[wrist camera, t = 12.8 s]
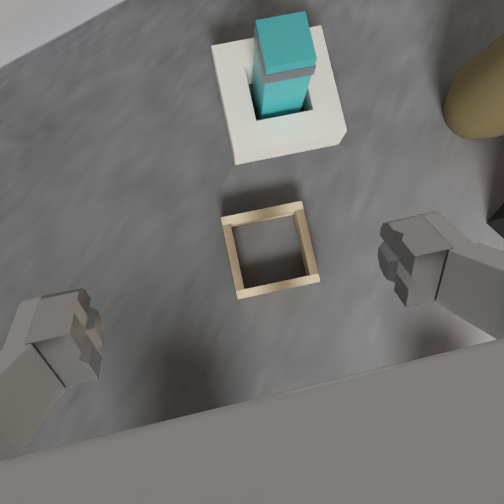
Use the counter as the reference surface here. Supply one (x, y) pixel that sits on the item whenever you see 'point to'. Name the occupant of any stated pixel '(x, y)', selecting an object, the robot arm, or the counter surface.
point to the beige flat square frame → (303, 239)
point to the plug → (282, 64)
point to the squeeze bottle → (478, 96)
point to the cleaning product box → (498, 221)
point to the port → (283, 127)
